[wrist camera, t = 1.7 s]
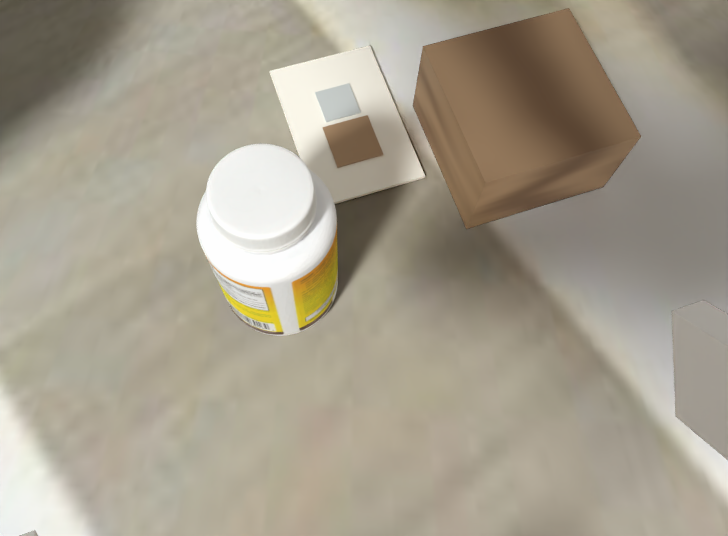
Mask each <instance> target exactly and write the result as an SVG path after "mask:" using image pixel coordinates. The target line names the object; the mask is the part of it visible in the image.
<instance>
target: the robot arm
mask: <svg viewBox="0 0 728 536" xmlns="http://www.w3.org/2000/svg"><path fill="white" fill-rule="evenodd" d="M672 335H673V361H674V388H675V414H676V417H677V418H678V419H679V420H680V421H682V422H683V423H684V424H685V425H686V426H688V427H689V428H690V429H691V430H692V431H693V432H695V433H696V434H697V435H698V436H699V437H701V438H702V439H703V440H704V441H705V442H707V443H708V444H709V445H710V446H711V447H713V448H714V449H715V450H716V451H717V452H718V453H720V454H721V455H722V456H723V457H724V458H726V459H727V460H728V314H727V313H726V312H724V311H722V310H720V309H719V308H717V307H715V306H713V305H712V304H710V303H708V302H706V301H705V300H702V301H699V302H696V303H693V304H690V305H688V306H685V307H682V308H679V309H676V310H673V311H672ZM20 536H38V535H37V533H36V531H35V530H34V531H31V532H28V533H26V534H23V535H20Z"/></svg>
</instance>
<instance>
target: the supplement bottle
mask: <svg viewBox="0 0 728 536" xmlns="http://www.w3.org/2000/svg"><path fill="white" fill-rule="evenodd" d="M197 233H198V237H199V241H200V244H201V247H202V249H203V252H204V254H205V256H206V258H207V260H208V262H209V264H210V266H211V268H212V270H213V272H214V274H215V276H216V278H217V281H218V283H219V285H220V287H221V289H222V291H223V293H224V295H225V297H226V299H227V301H228V303H229V305H230V307H231V309H232V311H233V312H234V313H235V314H236V316H237V317H238V318H239V319H240V320H241V321H242V322H243V323H244V324H246V325H247V326H249V327H250V328H252V329H254V330H256V331H258V332H261V333H264V334H268V335H276V336H285V335H292V334H296V333H299V332H302V331H304V330H306V329H308V328H310V327H312V326H313V325H315V324H316V323H317V322H318V321H320V320H321V319H322V318H323V317H324V315H325V314H326V313H327V312H328V311H329V309H330V307H331V306H332V303H333V301H334V299H335V296H336V292H337V286H338V259H337V256H338V255H337V216H336V209H335V204H334V201H333V198H332V196H331V193H330V191H329V190H328V188H327V186H326V185H325V184H324V182H323V181H322V180H321V179H320V178H319V177H318V176H317V175H316V174H315V173H314V172H312V171H311V170H310V169H308V167H307V165H306V164H305V163H304V162H303V161H302V159H301V158H300V157H298V156H297V155H296V154H295V153H293V152H292V151H290V150H288V149H286V148H283V147H281V146H277V145H273V144H260V143H259V144H251V145H247V146H243V147H240V148H238V149H236V150H234V151H232V152H230V153H229V154H227V155H226V156H225V157H223V158H222V159H221V160H220V161H219V162H218V163H217V165H216V166H215V167H214V169H213V171H212V172H211V175H210V177H209V179H208V183H207V188H206V192H205V193H204V195H203V197H202V199H201V202H200V205H199V209H198V213H197Z"/></svg>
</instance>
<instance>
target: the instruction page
mask: <svg viewBox="0 0 728 536" xmlns="http://www.w3.org/2000/svg"><path fill="white" fill-rule="evenodd" d="M270 75H271V78H272V81H273V84H274V87H275V89H276V92H277V95H278V98H279V101H280V103H281V106H282V109H283V112H284V115H285V117H286V120H287V123H288V126H289V129H290V132H291V134H292V137H293V140H294V143H295V146H296V148H297V151H298V154H299V157H300V158H301V159H302V161H303V162H304V163H305V164H306V165H307V167H308V169H310V170H311V171H312V172H314V173H315V174H316V175H317V176H318V177H319V178H320V179H321V180H322V181H323V182H324V184H325V185H326V186H327V188H328V190H329V191H330V193H331V196H332V198H333V201H334V204H337V203H340V202H344V201H347V200H351V199H354V198H357V197H361V196H364V195H368V194H371V193H374V192H378V191H381V190H385V189H388V188H392V187H395V186H398V185H402V184H405V183H409V182H412V181H416V180H419V179H422V178H425V174H424V172H423V170H422V167H421V165H420V163H419V160H418V158H417V156H416V153H415V151H414V148H413V146H412V144H411V141H410V139H409V137H408V134H407V132H406V130H405V127H404V125H403V123H402V120H401V118H400V115H399V113H398V111H397V108H396V106H395V104H394V101H393V99H392V97H391V94H390V92H389V90H388V87H387V85H386V82H385V80H384V78H383V75H382V73H381V71H380V68H379V66H378V64H377V61H376V59H375V57H374V54H373V52H372V49H371V47H370V45H369V46H365V47H361V48H358V49H354V50H350V51H346V52H342V53H338V54H334V55H330V56H327V57H323V58H319V59H315V60H311V61H307V62H303V63H299V64H295V65H292V66H288V67H284V68H280V69H276V70H272V71H270Z"/></svg>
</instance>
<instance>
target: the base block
mask: <svg viewBox="0 0 728 536" xmlns="http://www.w3.org/2000/svg"><path fill="white" fill-rule="evenodd" d="M413 107H414V109H415V112H416V114H417V116H418V119H419V121H420V123H421V126H422V128H423V130H424V132H425V135H426V137H427V139H428V142H429V144H430V146H431V149H432V151H433V153H434V155H435V158H436V160H437V162H438V165H439V167H440V169H441V172H442V174H443V176H444V178H445V181H446V183H447V185H448V188H449V190H450V192H451V195H452V197H453V199H454V201H455V204H456V206H457V208H458V211H459V213H460V215H461V217H462V220H463V222H464V224H465V227H466V229H468V228H471V227H474V226H478V225H481V224H484V223H487V222H491V221H494V220H497V219H501V218H504V217H507V216H510V215H514V214H517V213H520V212H523V211H527V210H530V209H533V208H536V207H540V206H543V205H546V204H549V203H553V202H556V201H559V200H562V199H566V198H569V197H572V196H575V195H579V194H582V193H585V192H589V191H592V190H595V189H598V188H602V187H604V185H605V184H606V183H607V181H608V180H609V179H610V177H611V176H612V175H613V173H614V172H615V171H616V169H617V168H618V167H619V165H620V164H621V163H622V161H623V160H624V159H625V157H626V156H627V155H628V153H629V152H630V151H631V149H632V148H633V147H634V145H635V144H636V143H637V141H638V140H639V139H640V137H641V135H640V134H639V132H638V130H637V128H636V126H635V125H634V123H633V121H632V119H631V118H630V116H629V114H628V112H627V110H626V109H625V107H624V105H623V103H622V102H621V100H620V98H619V96H618V94H617V93H616V91H615V89H614V87H613V86H612V84H611V82H610V80H609V79H608V77H607V75H606V73H605V71H604V70H603V68H602V66H601V64H600V63H599V61H598V59H597V57H596V55H595V54H594V52H593V50H592V48H591V47H590V45H589V43H588V41H587V39H586V38H585V36H584V34H583V32H582V31H581V29H580V27H579V25H578V23H577V22H576V20H575V18H574V16H573V15H572V13H571V11H570V9H569V8H568V9H564V10H560V11H556V12H553V13H549V14H545V15H541V16H537V17H533V18H530V19H526V20H522V21H518V22H514V23H510V24H507V25H503V26H499V27H495V28H491V29H487V30H484V31H480V32H476V33H472V34H468V35H464V36H461V37H457V38H453V39H449V40H445V41H441V42H438V43H434V44H430V45H426V46H423V49H422V55H421V61H420V67H419V73H418V78H417V84H416V90H415V96H414V102H413Z"/></svg>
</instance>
